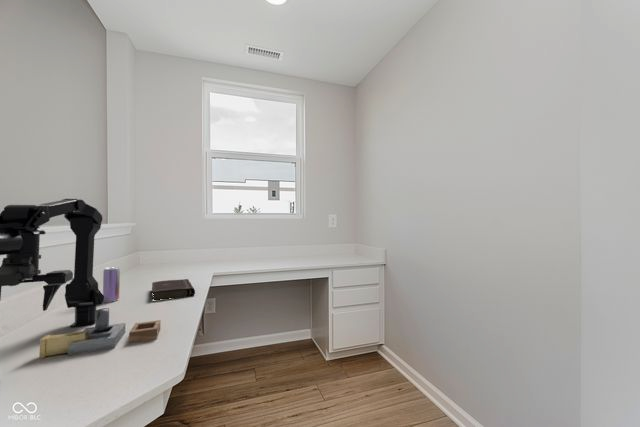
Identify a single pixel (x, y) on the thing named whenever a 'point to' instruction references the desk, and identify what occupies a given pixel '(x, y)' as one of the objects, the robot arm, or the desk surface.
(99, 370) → the desk surface
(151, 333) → the brown square tray
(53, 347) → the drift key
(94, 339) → the socket
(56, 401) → the desk surface
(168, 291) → the diary
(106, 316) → the peg
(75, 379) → the desk surface
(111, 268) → the beverage can
